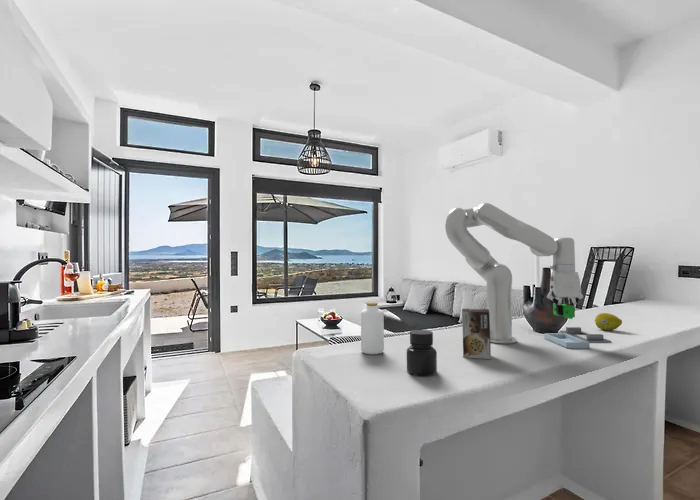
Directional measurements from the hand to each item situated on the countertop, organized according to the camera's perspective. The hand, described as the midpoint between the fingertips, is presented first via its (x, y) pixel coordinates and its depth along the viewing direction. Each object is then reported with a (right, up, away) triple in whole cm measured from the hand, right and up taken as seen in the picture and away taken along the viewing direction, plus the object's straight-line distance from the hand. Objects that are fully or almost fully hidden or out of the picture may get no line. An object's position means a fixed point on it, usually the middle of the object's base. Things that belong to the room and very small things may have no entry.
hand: (565, 314), depth 140 cm
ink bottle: (-64, -11, -34) cm, 73 cm away
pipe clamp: (0, -1, 0) cm, 1 cm away
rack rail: (+14, -12, +10) cm, 21 cm away
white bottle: (-77, -12, -11) cm, 79 cm away
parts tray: (0, -11, 0) cm, 11 cm away
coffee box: (-42, -12, -17) cm, 46 cm away
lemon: (+34, -12, +23) cm, 42 cm away
